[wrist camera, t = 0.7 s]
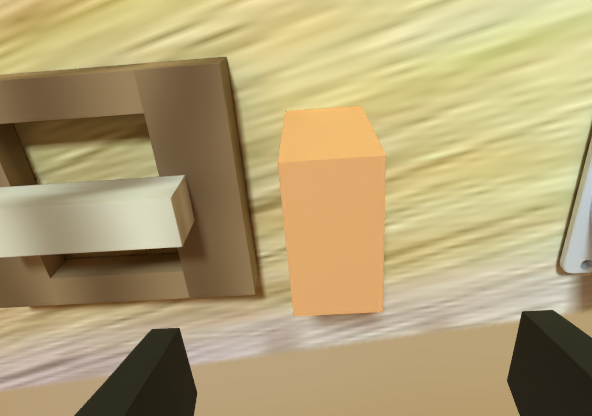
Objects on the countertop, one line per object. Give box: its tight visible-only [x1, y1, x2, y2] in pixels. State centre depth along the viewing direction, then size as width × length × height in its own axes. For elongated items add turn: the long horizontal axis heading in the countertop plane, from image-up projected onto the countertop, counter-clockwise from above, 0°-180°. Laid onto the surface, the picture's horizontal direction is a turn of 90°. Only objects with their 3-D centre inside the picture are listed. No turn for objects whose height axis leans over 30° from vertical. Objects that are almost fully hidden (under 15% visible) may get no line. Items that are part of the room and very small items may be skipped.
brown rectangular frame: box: [0, 57, 258, 308], centre depth 17 cm, size 12×10×4 cm
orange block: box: [278, 106, 386, 316], centre depth 15 cm, size 3×6×6 cm, turn 4°
